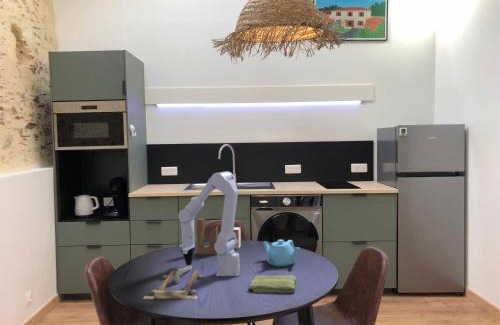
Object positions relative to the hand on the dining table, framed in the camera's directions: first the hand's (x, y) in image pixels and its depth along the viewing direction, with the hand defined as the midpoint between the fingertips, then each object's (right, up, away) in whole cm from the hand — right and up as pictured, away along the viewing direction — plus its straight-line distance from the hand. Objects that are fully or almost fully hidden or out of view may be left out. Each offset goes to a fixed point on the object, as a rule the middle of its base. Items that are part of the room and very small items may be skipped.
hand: (188, 264), depth 173 cm
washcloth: (+37, -3, -24) cm, 44 cm away
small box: (+19, +1, +32) cm, 37 cm away
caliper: (0, -2, -9) cm, 9 cm away
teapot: (+42, -1, +5) cm, 43 cm away
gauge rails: (-1, -3, -20) cm, 20 cm away
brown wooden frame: (+6, 0, +21) cm, 22 cm away
